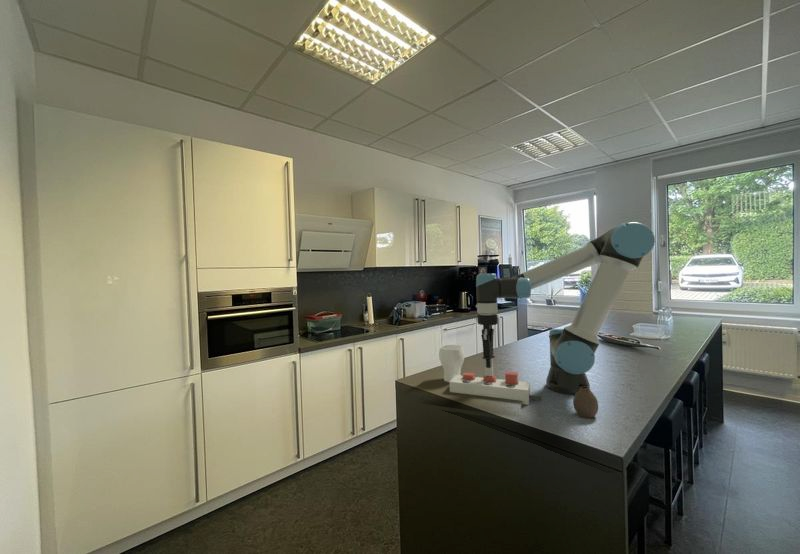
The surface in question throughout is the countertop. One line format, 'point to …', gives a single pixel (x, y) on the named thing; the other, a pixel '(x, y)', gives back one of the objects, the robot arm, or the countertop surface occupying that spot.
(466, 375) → the button
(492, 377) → the button
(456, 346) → the cup
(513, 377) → the button
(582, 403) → the vase
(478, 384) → the strip
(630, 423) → the countertop surface
